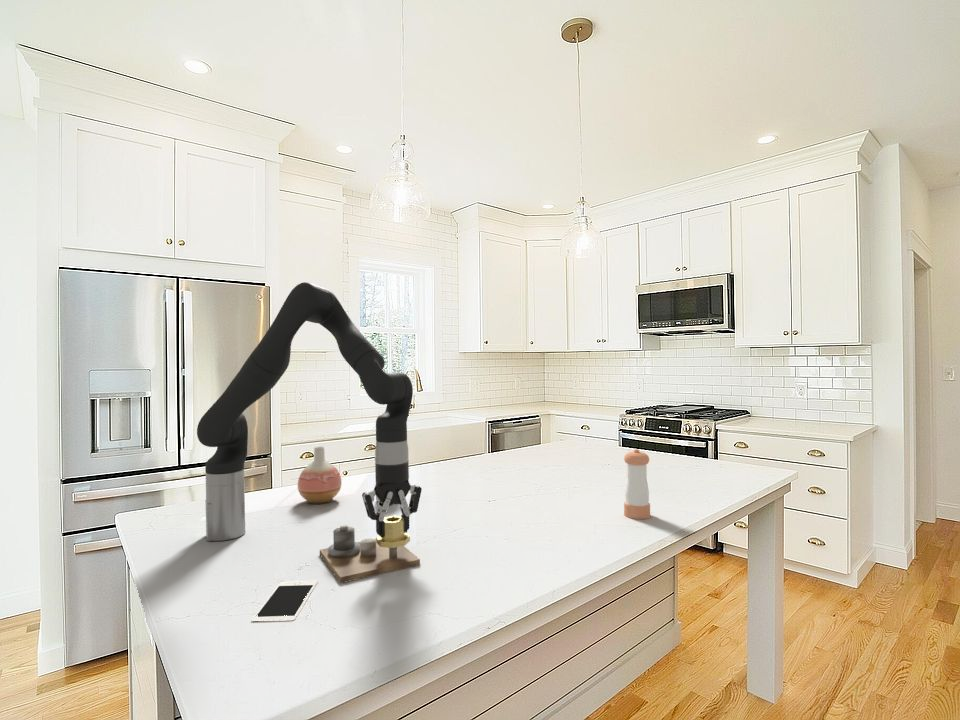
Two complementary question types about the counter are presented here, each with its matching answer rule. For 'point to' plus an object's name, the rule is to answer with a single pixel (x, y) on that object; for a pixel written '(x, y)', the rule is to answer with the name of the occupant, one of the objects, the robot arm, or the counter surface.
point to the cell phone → (286, 600)
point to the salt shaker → (636, 486)
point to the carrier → (363, 556)
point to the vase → (319, 480)
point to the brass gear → (393, 533)
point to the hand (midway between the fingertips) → (393, 533)
